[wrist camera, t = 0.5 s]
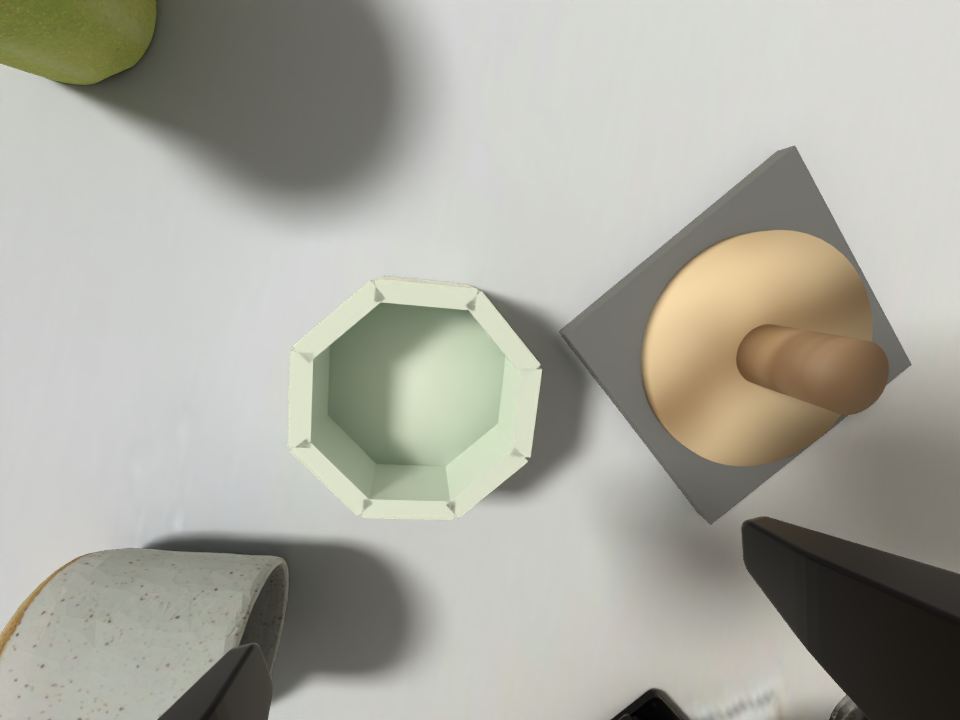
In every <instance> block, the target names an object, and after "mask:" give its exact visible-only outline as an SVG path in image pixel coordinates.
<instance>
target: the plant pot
mask: <svg viewBox="0 0 960 720" xmlns="http://www.w3.org/2000/svg"><path fill="white" fill-rule="evenodd" d="M156 13H157V11H156V0H0V63H1V64H4V65H7V66H10V67H13V68H16V69H19V70H22V71H25V72H29V73H32V74H35V75H39V76H42V77H45V78H48V79H51V80H55V81H59V82H63V83H70V84H78V85H88V84H95V83H98V82H100V81H102V80H104V79H105V78H108V77H110V76H112V75H115V74H117V73H119V72H121V71H123V70H125V69H128V68H131V67H133V66H134V65H135V64H136V63H137V62H138V61H139V60H140V59H141V58H142V56H143V55H144V53H145V52H146V50H147V48H148V46H149V44H150V42H151V39H152V37H153V33H154V30H155V24H156Z"/></svg>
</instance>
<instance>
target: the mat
mask: <svg viewBox="0 0 960 720" xmlns="http://www.w3.org/2000/svg"><path fill="white" fill-rule="evenodd" d="M771 230H790V231H797V232H802V233H806V234H809V235H812V236H814V237H817V238H820V239H822V240H823V241H825V242H827V243H829V244H830V245H832V246H833V247H835V248H836V249H837V250H838V251H839V252H841V253H842V254H843V255H844V256H845V257H846V258H847V259H848V261H849V262H850V263H851V264H852V265H853V267H854V268H855V270H856V271H857V273H858V274H859V276H860V278H861V280H862V282H863V284H864V287H865V289H866V292H867V295H868V299H869V302H870V307H871V314H872V332H873V334H872V342H874V343H876V344H877V345H879V346H880V347H881V348H882V349H883V351H884V352H885V354H886V356H887V359H888V363H889V376H888V380H887V383H886V384H888V383H889V382H890V381H891V380H893V379H894V378H895V377H896V376H898V375H899V374H900V373H901V372H903V371H904V370H905V369H906V368H908V367H909V366H910V365H911V363H910V361H909V359H908V357H907V355H906V353H905V351H904V350H903V348H902V346H901V344H900V342H899V340H898V338H897V336H896V335H895V333H894V331H893V329H892V327H891V325H890V323H889V321H888V319H887V318H886V316H885V314H884V312H883V310H882V308H881V306H880V304H879V303H878V301H877V299H876V297H875V295H874V293H873V291H872V289H871V288H870V286H869V284H868V282H867V280H866V278H865V276H864V274H863V272H862V271H861V269H860V267H859V265H858V263H857V261H856V259H855V257H854V256H853V254H852V252H851V250H850V248H849V246H848V244H847V242H846V241H845V239H844V237H843V235H842V233H841V231H840V229H839V227H838V225H837V224H836V222H835V220H834V218H833V216H832V214H831V212H830V210H829V209H828V207H827V205H826V203H825V201H824V199H823V197H822V195H821V194H820V192H819V190H818V188H817V186H816V184H815V182H814V180H813V178H812V177H811V175H810V173H809V171H808V169H807V167H806V165H805V163H804V162H803V160H802V158H801V156H800V154H799V152H798V150H797V148H796V147H795V146H792V147H789V148H786V149H782V150H779V151H777V152H776V153H775V154H773V155H772V156H771V157H770V158H768V159H767V160H766V161H765V162H764V163H762V164H761V165H760V166H759V167H758V168H756V169H755V170H754V171H753V172H752V173H750V174H749V175H748V176H747V177H745V178H744V179H743V180H742V181H741V182H739V183H738V184H737V185H736V186H735V187H733V188H732V189H731V190H730V191H728V192H727V193H726V194H725V195H724V196H722V197H721V198H720V199H719V200H718V201H716V202H715V203H714V204H713V205H712V206H710V207H709V208H708V209H707V210H705V211H704V212H703V213H702V214H701V215H699V216H698V217H697V218H696V219H695V220H693V221H692V222H691V223H690V224H689V225H687V226H686V227H685V228H684V229H682V230H681V231H680V232H679V233H678V234H676V235H675V236H674V237H673V238H672V239H670V240H669V241H668V242H667V243H666V244H664V245H663V246H662V247H661V248H659V249H658V250H657V251H656V252H655V253H653V254H652V255H651V256H650V257H649V258H647V259H646V260H645V261H644V262H643V263H641V264H640V265H639V266H638V267H636V268H635V269H634V270H633V271H632V272H630V273H629V274H628V275H627V276H626V277H624V278H623V279H622V280H621V281H619V282H618V283H617V284H616V285H615V286H613V287H612V288H611V289H610V290H609V291H607V292H606V293H605V294H604V295H603V296H601V297H600V298H599V299H598V300H596V301H595V302H594V303H593V304H592V305H590V306H589V307H588V308H587V309H586V310H584V311H583V312H582V313H581V314H580V315H578V316H577V317H576V318H575V319H573V320H572V321H571V322H570V323H569V324H567V325H566V326H565V327H564V328H563V329H561V330H560V331H559V333H560V334H561V335H562V337H563V338H564V339H565V340H566V342H567V343H568V344H569V346H570V347H571V348H572V350H573V351H574V352H575V353H576V355H577V356H578V357H579V359H580V360H581V361H582V363H583V364H584V365H585V366H586V368H587V369H588V370H589V372H590V373H591V374H592V376H593V377H594V378H595V379H596V381H597V382H598V383H599V385H600V386H601V387H602V389H603V390H604V391H605V392H606V394H607V395H608V396H609V398H610V399H611V400H612V402H613V403H614V404H615V405H616V407H617V408H618V409H619V411H620V412H621V413H622V415H623V416H624V417H625V418H626V420H627V421H628V422H629V424H630V425H631V426H632V428H633V429H634V430H635V431H636V433H637V434H638V435H639V437H640V438H641V439H642V441H643V442H644V443H645V444H646V446H647V447H648V448H649V450H650V451H651V452H652V454H653V455H654V456H655V457H656V459H657V460H658V461H659V463H660V464H661V465H662V467H663V468H664V469H665V470H666V472H667V473H668V474H669V476H670V477H671V478H672V480H673V481H674V482H675V483H676V485H677V486H678V487H679V489H680V490H681V491H682V493H683V494H684V495H685V496H686V498H687V499H688V500H689V502H690V503H691V504H692V506H693V507H694V508H695V509H696V511H697V512H698V513H699V514H700V515H701V516H702V517H703V518H704V519H705V520H706V521H707V522H708V523H710V524H712V523H713V522H715V521H716V520H717V519H718V518H720V517H721V516H722V515H723V514H725V513H726V512H727V511H728V510H730V509H731V508H732V507H733V506H735V505H736V504H737V503H739V502H740V501H741V500H742V499H744V498H745V497H746V496H747V495H749V494H750V493H751V492H752V491H754V490H755V489H756V488H757V487H759V486H760V485H761V484H762V483H764V482H765V481H766V480H767V479H769V478H770V477H771V476H772V475H774V474H775V473H776V472H777V471H779V470H780V469H781V468H782V467H784V466H785V465H786V464H787V463H789V462H790V461H791V460H792V459H794V458H795V457H796V456H797V455H799V454H800V453H801V452H802V451H804V450H805V449H806V448H807V447H809V446H810V445H811V444H810V445H809V446H807V447H806V448H804V449H802V450H801V451H799V452H797V453H795V454H793V455H791V456H789V457H786V458H784V459H782V460H779V461H775V462H772V463H768V464H763V465H757V466H730V465H724V464H720V463H716V462H713V461H710V460H708V459H705V458H703V457H701V456H699V455H698V454H696V453H694V452H693V451H691V450H689V449H688V448H686V447H685V446H684V445H682V444H681V443H679V442H678V441H677V440H675V439H674V438H673V437H672V436H671V435H670V434H668V433H667V431H666V430H665V429H664V428H663V427H662V426H661V425H660V423H659V422H658V420H657V419H656V417H655V416H654V414H653V412H652V410H651V408H650V406H649V404H648V401H647V399H646V395H645V392H644V388H643V384H642V377H641V348H642V340H643V336H644V332H645V328H646V325H647V322H648V319H649V316H650V314H651V311H652V309H653V307H654V305H655V303H656V301H657V299H658V297H659V296H660V294H661V293H662V291H663V290H664V288H665V287H666V285H667V284H668V282H669V281H670V280H671V279H672V277H673V276H674V275H675V274H676V273H677V272H678V270H679V269H681V268H682V267H683V266H684V265H685V264H686V263H687V262H688V261H689V260H690V259H691V258H693V257H694V256H696V255H697V254H698V253H700V252H701V251H703V250H704V249H706V248H708V247H709V246H711V245H713V244H715V243H717V242H719V241H721V240H724V239H727V238H729V237H732V236H736V235H740V234H744V233H750V232H760V231H771ZM846 416H848V415H841V416H840V418H839V419H838V420H837V421H836V422H835V423H834V424H833V425H832V426H831V428H833V427H834V426H835V425H836V424H838V423H839V422H840V421H841V420H843V419H844V418H845V417H846ZM831 428H830V429H831ZM830 429H829V430H830ZM829 430H827V431H826V432H828V431H829ZM826 432H825V433H826ZM825 433H824V434H825ZM824 434H823V435H824ZM823 435H822V436H823ZM818 439H819V438H818ZM814 442H815V441H814ZM814 442H813V443H814Z"/></svg>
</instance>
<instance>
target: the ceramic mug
mask: <svg viewBox="0 0 960 720" xmlns="http://www.w3.org/2000/svg"><path fill="white" fill-rule="evenodd" d="M288 576H289V571H288V566H287V564H286V561H285V560H284V559H283V558H281V557H277V556H268V555H242V554H230V553H208V552H183V551H167V550H157V549H140V548H126V549H116V550H105V551H99V552H94V553H89V554H86V555H83V556H80V557H78V558H76V559H74V560H72V561H71V562H69V563H67V564H66V565H64V566H63V567H61V568H60V569H58V570H57V571H55V572H54V573H53V574H52V575H50V576H49V577H48V578H47V579H46V580H45V581H43V582H42V583H41V584H40V585H39V586H38V587H37V588H36V589H35V590H34V591H33V592H32V593H31V594H30V595H29V597H28V598H27V599H26V600H25V601H24V602H23V603H22V604H21V606H20V607H19V608H18V610H17V611H16V612H15V614H14V615H13V617H12V618H11V619H10V621H9V622H8V624H7V625H6V626H5V628H4V629H3V631H2V633H1V634H0V720H157V719H158V718H159V717H160V716H161V715H162V714H163V713H164V712H165V711H166V710H168V709H169V708H170V707H171V706H172V705H173V704H174V703H175V702H176V701H177V700H178V699H179V698H180V697H181V696H182V695H183V694H184V693H185V692H186V691H187V690H188V689H189V688H190V687H191V686H192V685H194V684H195V683H196V682H197V681H198V680H199V679H200V678H201V677H202V676H203V675H204V674H205V673H206V672H207V671H208V670H209V669H210V668H211V667H212V666H213V665H214V664H215V663H216V662H217V661H219V660H220V659H221V658H222V657H223V656H224V655H225V654H226V653H227V652H228V651H229V650H230V649H232V648H234V647H238V646H242V645H246V644H250V643H256V644H258V645H259V646H260V648H261V650H262V653H263V656H264V659H265V662H266V665H267V668H268V671H269V674H270V677H271V675H272V671H273V668H274V664H275V661H276V658H277V652H278V648H279V644H280V640H281V636H282V631H283V627H284V618H285V611H286V607H287V601H288V587H289V577H288Z"/></svg>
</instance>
